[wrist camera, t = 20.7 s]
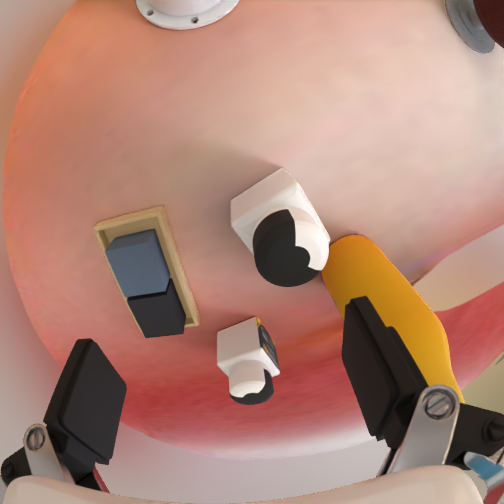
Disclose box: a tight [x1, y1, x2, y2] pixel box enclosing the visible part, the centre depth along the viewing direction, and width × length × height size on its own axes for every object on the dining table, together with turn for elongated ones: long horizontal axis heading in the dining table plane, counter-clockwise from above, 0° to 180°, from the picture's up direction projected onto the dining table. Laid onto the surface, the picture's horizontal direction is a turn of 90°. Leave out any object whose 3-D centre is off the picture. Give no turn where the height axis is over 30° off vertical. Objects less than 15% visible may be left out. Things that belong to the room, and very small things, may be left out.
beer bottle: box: [321, 235, 466, 404], centre depth 27 cm, size 9×9×29 cm
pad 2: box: [127, 278, 186, 338], centre depth 38 cm, size 7×6×4 cm
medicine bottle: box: [217, 317, 280, 405], centre depth 40 cm, size 7×7×12 cm
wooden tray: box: [93, 205, 200, 333], centre depth 37 cm, size 18×10×2 cm, turn 9°
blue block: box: [105, 228, 170, 297], centre depth 34 cm, size 7×6×4 cm
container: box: [230, 168, 331, 287], centre depth 29 cm, size 8×8×13 cm
